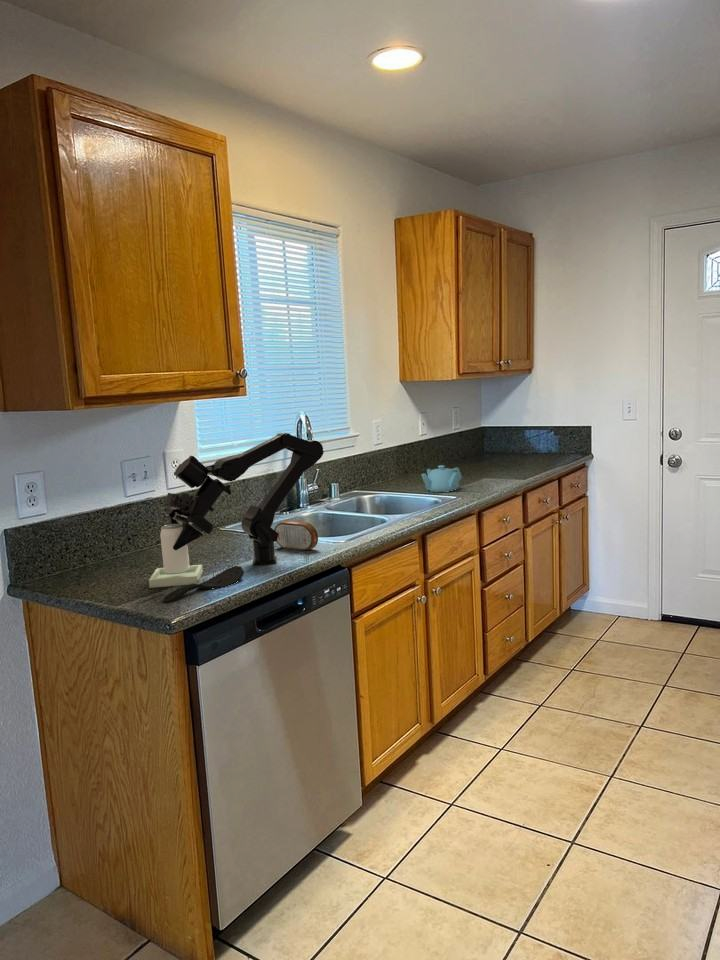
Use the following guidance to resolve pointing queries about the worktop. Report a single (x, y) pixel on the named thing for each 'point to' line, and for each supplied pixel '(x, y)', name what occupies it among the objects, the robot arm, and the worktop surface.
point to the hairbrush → (209, 583)
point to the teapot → (442, 479)
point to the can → (173, 558)
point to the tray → (175, 577)
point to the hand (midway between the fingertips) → (169, 547)
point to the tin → (296, 535)
